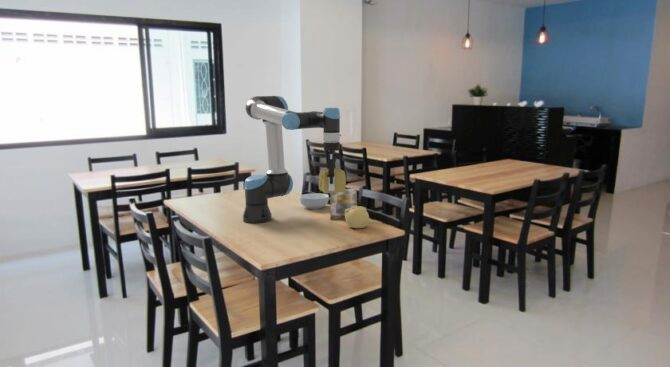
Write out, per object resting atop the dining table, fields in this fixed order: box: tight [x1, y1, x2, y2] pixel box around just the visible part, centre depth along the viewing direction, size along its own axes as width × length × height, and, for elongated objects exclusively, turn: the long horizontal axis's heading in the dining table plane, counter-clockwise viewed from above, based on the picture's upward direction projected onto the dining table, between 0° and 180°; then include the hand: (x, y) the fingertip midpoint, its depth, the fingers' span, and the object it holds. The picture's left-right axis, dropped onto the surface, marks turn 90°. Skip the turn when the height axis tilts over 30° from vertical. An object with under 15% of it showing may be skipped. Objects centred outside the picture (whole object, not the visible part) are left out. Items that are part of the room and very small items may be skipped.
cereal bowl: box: [299, 192, 330, 210], centre depth 271 cm, size 17×17×7 cm
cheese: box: [318, 167, 347, 194], centre depth 217 cm, size 10×11×10 cm
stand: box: [329, 188, 358, 221], centre depth 246 cm, size 14×6×16 cm, turn 88°
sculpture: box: [345, 205, 370, 229], centre depth 231 cm, size 12×12×11 cm
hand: (332, 187), depth 217 cm, fingers closed on cheese, 12 cm apart
